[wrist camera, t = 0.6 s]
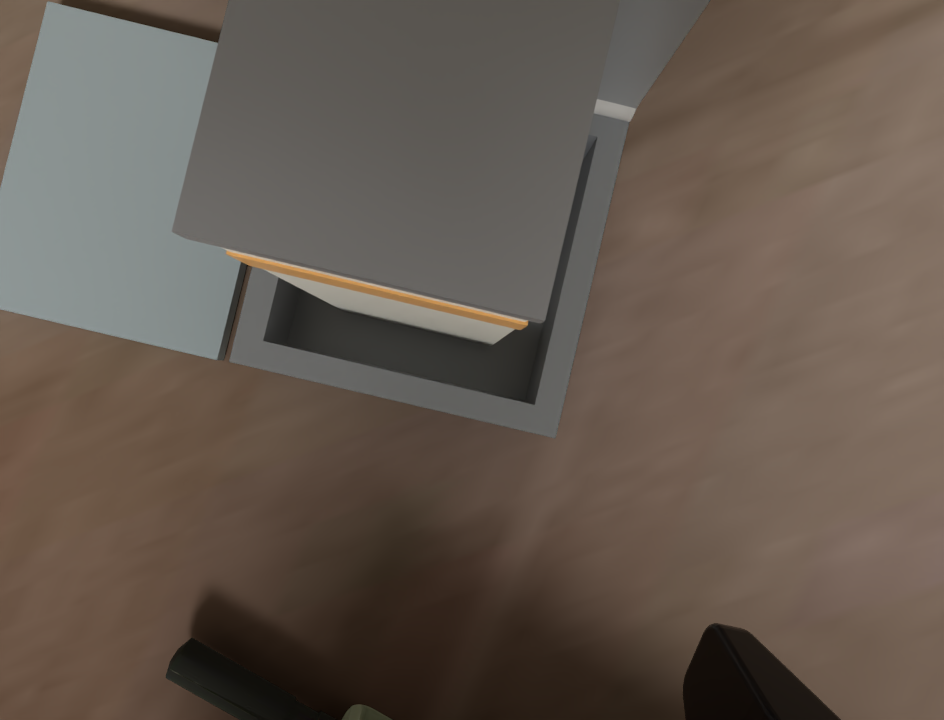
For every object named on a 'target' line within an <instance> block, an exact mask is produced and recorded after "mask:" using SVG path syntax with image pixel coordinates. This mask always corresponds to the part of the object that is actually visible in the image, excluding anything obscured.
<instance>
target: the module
mask: <svg viewBox="0 0 944 720" xmlns="http://www.w3.org/2000/svg"><path fill="white" fill-rule="evenodd" d="M619 3H620V0H229V1H228V5H227V9H226V13H225V17H224V21H223V25H222V29H221V33H220V37H219V41H218V45H217V49H216V53H215V57H214V61H213V65H212V69H211V74H210V78H209V82H208V86H207V90H206V94H205V98H204V102H203V106H202V110H201V114H200V118H199V122H198V126H197V130H196V134H195V138H194V142H193V146H192V150H191V155H190V159H189V163H188V167H187V171H186V175H185V179H184V183H183V187H182V191H181V195H180V199H179V203H178V207H177V211H176V215H175V219H174V223H173V227H172V232H173V233H175V234H177V235H179V236H181V237H183V238H185V239H188V240H192V241H196V242H200V243H205V244H209V245H213V246H217V247H221V248H223V249H225V250H227V251H226V254H227V255H229V256H231V257H233V258H235V259H237V260H239V261H241V262H243V263H245V264H247V265H249V266H252V267H257V268H261V269H264V270H266V271H267V272H269V273H271V274H273V275H275V276H277V277H279V278H281V279H283V280H285V281H287V282H289V283H291V284H293V285H294V286H296V287H298V288H300V289H302V290H304V291H306V292H308V293H310V294H312V295H314V296H316V297H318V298H320V299H321V300H323V301H325V302H327V303H329V304H331V305H333V306H335V307H337V308H339V309H341V310H343V311H347V312H351V313H355V314H360V315H364V316H368V317H372V318H376V319H381V320H385V321H389V322H393V323H398V324H402V325H406V326H410V327H414V328H419V329H423V330H427V331H431V332H435V333H440V334H444V335H448V336H452V337H456V338H461V339H465V340H469V341H473V342H478V343H482V344H486V345H490V346H492V345H493V344H495V343H496V342H498V341H499V340H500V339H502V338H503V337H505V336H506V335H508V334H509V333H510V332H512V331H513V330H515V329H517V330H522V329H523V328H525V327H526V326H527V325H528V321H532V322H536V323H542V322H544V321H545V319H546V314H547V310H548V306H549V302H550V297H551V293H552V289H553V285H554V280H555V276H556V272H557V268H558V263H559V259H560V255H561V250H562V246H563V242H564V238H565V233H566V229H567V225H568V221H569V216H570V212H571V208H572V204H573V199H574V195H575V191H576V186H577V182H578V178H579V174H580V169H581V165H582V161H583V157H584V152H585V148H586V144H587V140H588V135H589V131H590V127H591V122H592V118H593V114H594V110H595V105H596V101H597V97H598V93H599V88H600V84H601V80H602V76H603V71H604V67H605V63H606V58H607V54H608V50H609V46H610V41H611V37H612V33H613V29H614V24H615V20H616V16H617V12H618V7H619Z"/></svg>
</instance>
